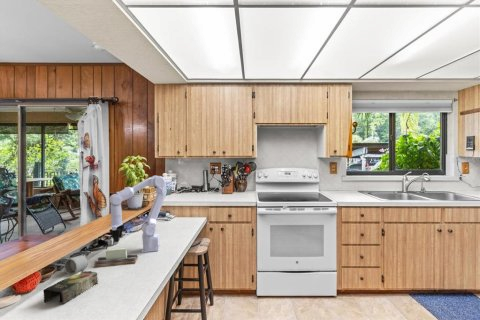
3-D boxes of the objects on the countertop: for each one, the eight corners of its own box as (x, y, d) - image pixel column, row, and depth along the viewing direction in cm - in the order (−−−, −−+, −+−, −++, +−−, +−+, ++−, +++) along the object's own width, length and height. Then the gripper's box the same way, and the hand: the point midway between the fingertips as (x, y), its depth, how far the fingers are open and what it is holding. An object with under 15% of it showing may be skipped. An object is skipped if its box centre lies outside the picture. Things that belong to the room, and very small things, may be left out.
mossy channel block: (83, 281, 136) (82, 267, 136) (100, 283, 134) (100, 269, 133) (43, 303, 117) (42, 288, 117) (62, 306, 114) (61, 291, 114)
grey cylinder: (89, 268, 151) (88, 253, 150) (76, 275, 143) (75, 259, 142) (73, 267, 153) (72, 252, 153) (59, 274, 146) (58, 258, 145)
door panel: (127, 258, 159) (126, 247, 159) (126, 260, 157) (125, 249, 157) (107, 260, 158) (106, 249, 158) (106, 262, 156) (105, 250, 156)
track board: (138, 257, 164) (137, 252, 164) (134, 263, 155) (134, 258, 155) (99, 261, 161) (99, 256, 160) (94, 267, 152) (93, 262, 152)
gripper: (112, 213, 173) (113, 236, 173) (105, 219, 158) (106, 244, 159) (124, 212, 174) (126, 235, 174) (119, 218, 160) (120, 243, 160)
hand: (117, 239), depth 167 cm, fingers open, 7 cm apart
